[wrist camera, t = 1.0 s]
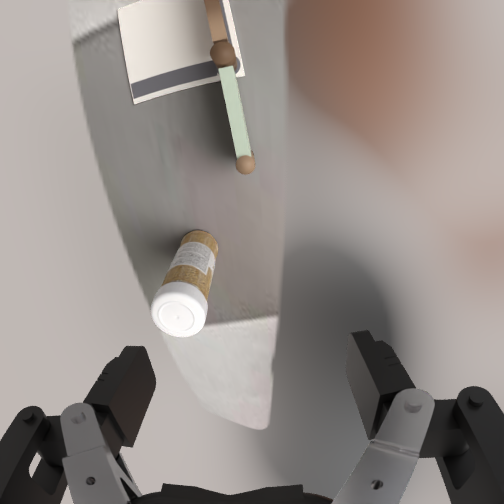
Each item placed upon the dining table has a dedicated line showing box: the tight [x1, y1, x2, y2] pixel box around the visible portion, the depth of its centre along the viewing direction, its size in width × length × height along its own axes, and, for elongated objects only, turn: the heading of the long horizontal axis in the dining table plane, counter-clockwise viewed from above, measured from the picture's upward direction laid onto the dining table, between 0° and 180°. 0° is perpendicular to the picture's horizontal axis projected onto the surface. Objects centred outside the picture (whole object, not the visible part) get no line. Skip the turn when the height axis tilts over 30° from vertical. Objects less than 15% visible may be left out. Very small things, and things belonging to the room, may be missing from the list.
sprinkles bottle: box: [151, 230, 218, 337], centre depth 29 cm, size 5×5×14 cm
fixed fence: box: [204, 0, 237, 71], centre depth 21 cm, size 12×2×7 cm, turn 11°
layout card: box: [117, 0, 245, 104], centre depth 25 cm, size 12×12×1 cm
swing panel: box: [219, 66, 255, 174], centre depth 26 cm, size 9×2×6 cm, turn 11°
